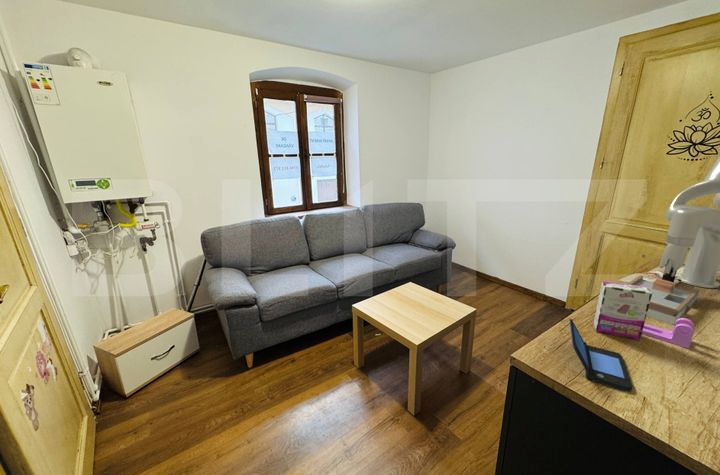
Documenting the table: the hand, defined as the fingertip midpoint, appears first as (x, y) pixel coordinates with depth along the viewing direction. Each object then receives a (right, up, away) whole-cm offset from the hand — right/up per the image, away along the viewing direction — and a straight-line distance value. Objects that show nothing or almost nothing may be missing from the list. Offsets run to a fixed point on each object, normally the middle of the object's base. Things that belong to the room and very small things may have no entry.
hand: (666, 284), depth 117 cm
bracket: (-28, -13, -24) cm, 39 cm away
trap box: (-11, -6, -5) cm, 14 cm away
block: (-4, -2, -2) cm, 4 cm away
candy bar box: (-40, -12, -22) cm, 47 cm away
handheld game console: (-58, -17, -35) cm, 70 cm away
